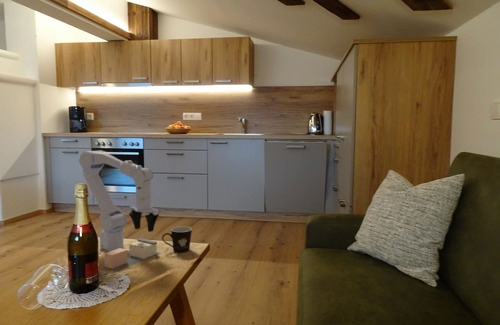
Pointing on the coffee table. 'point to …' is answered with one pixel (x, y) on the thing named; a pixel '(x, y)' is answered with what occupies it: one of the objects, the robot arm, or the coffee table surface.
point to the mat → (128, 261)
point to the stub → (115, 258)
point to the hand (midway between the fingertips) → (144, 230)
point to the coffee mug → (180, 239)
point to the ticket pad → (143, 248)
